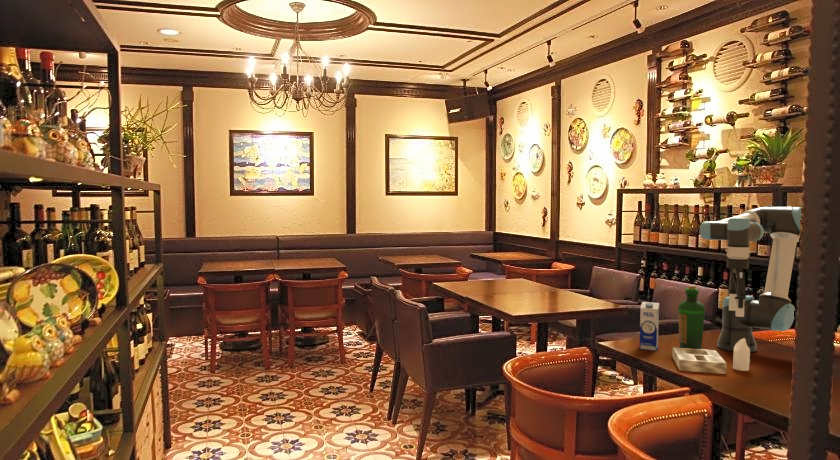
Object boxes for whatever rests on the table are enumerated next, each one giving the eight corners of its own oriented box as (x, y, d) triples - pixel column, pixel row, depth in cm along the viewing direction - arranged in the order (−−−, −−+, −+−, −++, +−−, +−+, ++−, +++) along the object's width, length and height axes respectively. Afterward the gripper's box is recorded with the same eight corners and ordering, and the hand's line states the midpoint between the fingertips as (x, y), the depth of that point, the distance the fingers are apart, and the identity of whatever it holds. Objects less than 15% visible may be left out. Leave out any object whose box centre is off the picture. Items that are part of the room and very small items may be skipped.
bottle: (682, 346, 263) (684, 283, 262) (707, 350, 256) (709, 285, 255) (672, 350, 256) (674, 285, 255) (698, 354, 248) (700, 288, 247)
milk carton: (658, 347, 260) (659, 302, 259) (656, 351, 254) (657, 304, 253) (641, 345, 263) (642, 301, 262) (639, 349, 257) (640, 303, 256)
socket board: (715, 360, 240) (715, 350, 240) (726, 374, 220) (726, 363, 220) (672, 356, 244) (672, 347, 244) (679, 370, 224) (679, 359, 224)
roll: (730, 336, 229) (743, 336, 230) (729, 367, 229) (742, 366, 230) (741, 339, 223) (754, 339, 224) (740, 371, 223) (753, 370, 224)
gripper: (721, 255, 239) (719, 307, 240) (733, 260, 215) (731, 318, 216) (742, 255, 237) (740, 308, 237) (756, 261, 213) (754, 320, 214)
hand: (736, 313), depth 227 cm, fingers open, 13 cm apart
